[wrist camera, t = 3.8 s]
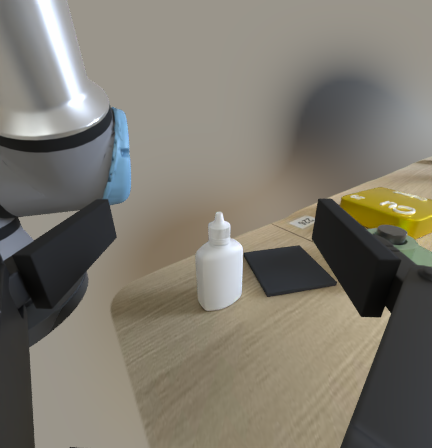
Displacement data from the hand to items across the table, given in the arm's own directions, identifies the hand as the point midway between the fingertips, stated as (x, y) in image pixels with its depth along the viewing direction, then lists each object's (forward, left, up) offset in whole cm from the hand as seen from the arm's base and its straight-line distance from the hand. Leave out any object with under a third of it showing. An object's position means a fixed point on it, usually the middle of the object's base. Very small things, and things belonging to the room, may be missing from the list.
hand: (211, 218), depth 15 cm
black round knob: (+29, +12, -12) cm, 33 cm away
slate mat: (+14, +13, -16) cm, 25 cm away
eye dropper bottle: (+3, +10, -16) cm, 19 cm away
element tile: (+43, +24, -16) cm, 52 cm away
